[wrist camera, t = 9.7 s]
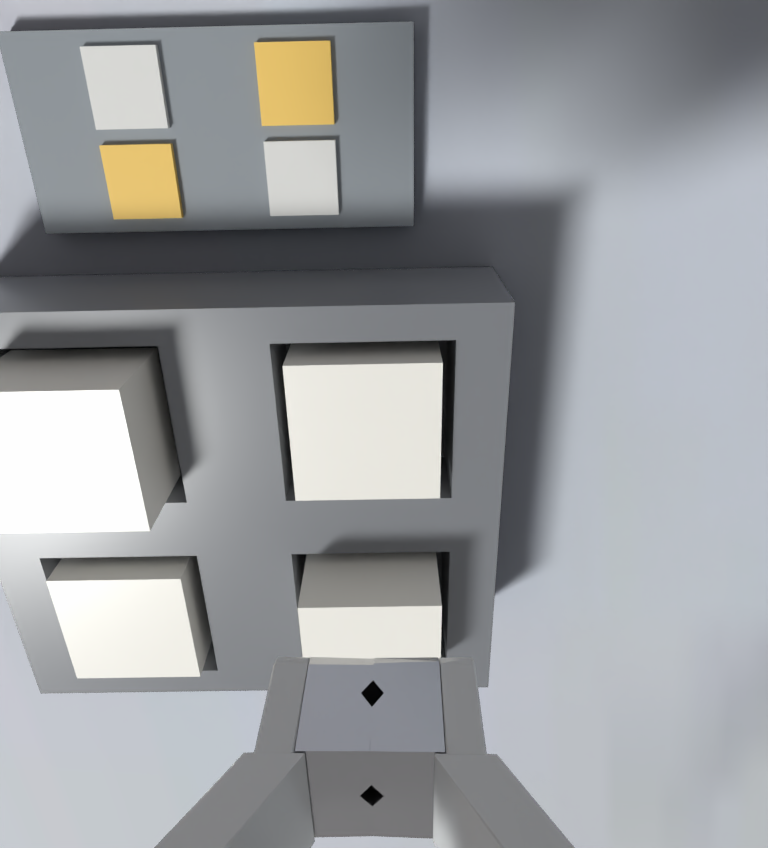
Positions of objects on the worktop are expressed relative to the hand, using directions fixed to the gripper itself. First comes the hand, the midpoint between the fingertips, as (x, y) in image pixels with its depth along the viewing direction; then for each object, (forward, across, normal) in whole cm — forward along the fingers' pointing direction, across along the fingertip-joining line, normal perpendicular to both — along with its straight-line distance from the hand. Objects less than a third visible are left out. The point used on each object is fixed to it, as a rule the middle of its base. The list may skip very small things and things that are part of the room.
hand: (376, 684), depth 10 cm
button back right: (+10, +1, +7) cm, 13 cm away
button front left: (+10, +9, 0) cm, 13 cm away
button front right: (+12, +1, 0) cm, 12 cm away
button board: (+13, +5, +4) cm, 15 cm away
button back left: (+12, +9, +7) cm, 16 cm away
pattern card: (+13, +5, -7) cm, 16 cm away
